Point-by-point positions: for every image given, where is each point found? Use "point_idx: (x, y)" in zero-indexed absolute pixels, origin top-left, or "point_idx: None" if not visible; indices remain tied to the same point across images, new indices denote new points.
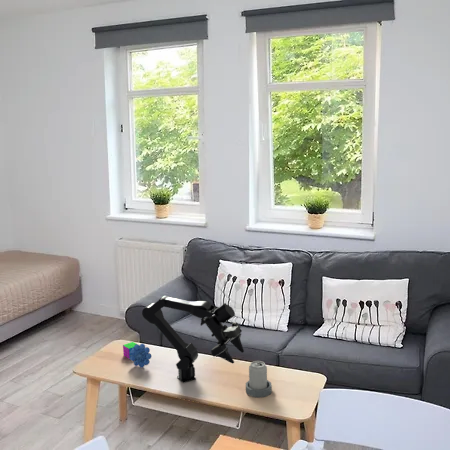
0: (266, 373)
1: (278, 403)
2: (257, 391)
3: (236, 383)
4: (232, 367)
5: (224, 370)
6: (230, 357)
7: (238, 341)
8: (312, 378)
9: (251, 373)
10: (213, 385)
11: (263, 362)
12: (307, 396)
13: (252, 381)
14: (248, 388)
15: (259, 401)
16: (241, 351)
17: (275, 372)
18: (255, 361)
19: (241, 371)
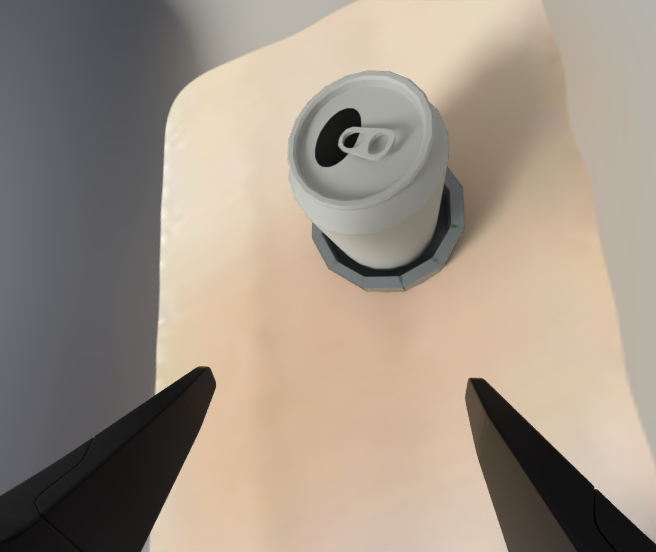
0: (360, 119)
1: (452, 88)
2: (456, 181)
3: (363, 371)
4: (218, 465)
5: (260, 499)
6: (552, 461)
7: (52, 517)
8: (200, 105)
9: (440, 188)
10: (451, 502)
11: (303, 116)
12: (333, 37)
13: (439, 206)
14: (456, 240)
15: (485, 169)
16: (207, 395)
17: (201, 248)
18: (312, 187)
19: (240, 400)
